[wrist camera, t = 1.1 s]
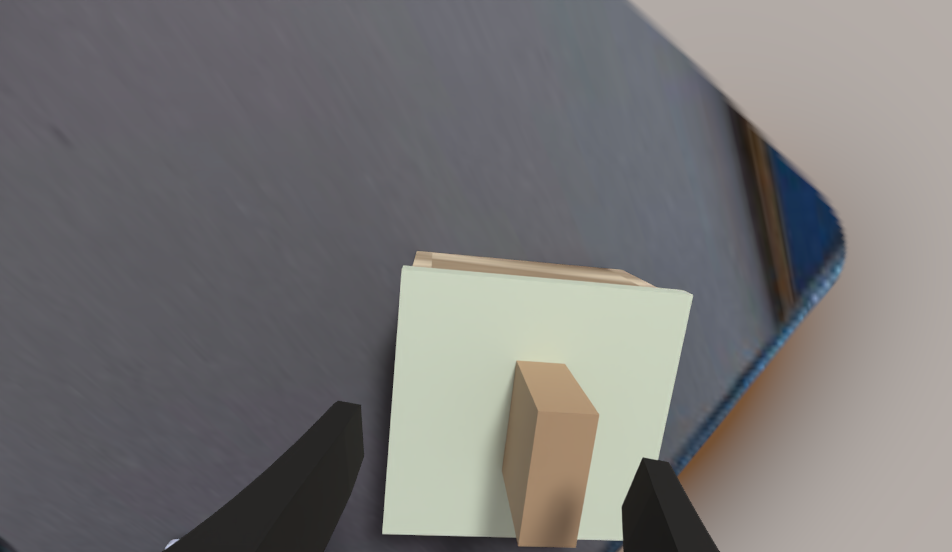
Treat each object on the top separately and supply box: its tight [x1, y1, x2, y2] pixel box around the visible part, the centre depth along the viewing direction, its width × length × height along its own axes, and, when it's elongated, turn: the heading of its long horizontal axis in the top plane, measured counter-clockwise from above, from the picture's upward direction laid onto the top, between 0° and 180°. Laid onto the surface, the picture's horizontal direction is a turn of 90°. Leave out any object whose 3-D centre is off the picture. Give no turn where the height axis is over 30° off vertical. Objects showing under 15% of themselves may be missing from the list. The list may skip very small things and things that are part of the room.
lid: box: [382, 265, 693, 548], centre depth 17 cm, size 12×12×5 cm
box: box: [413, 251, 657, 288], centre depth 22 cm, size 11×11×6 cm
